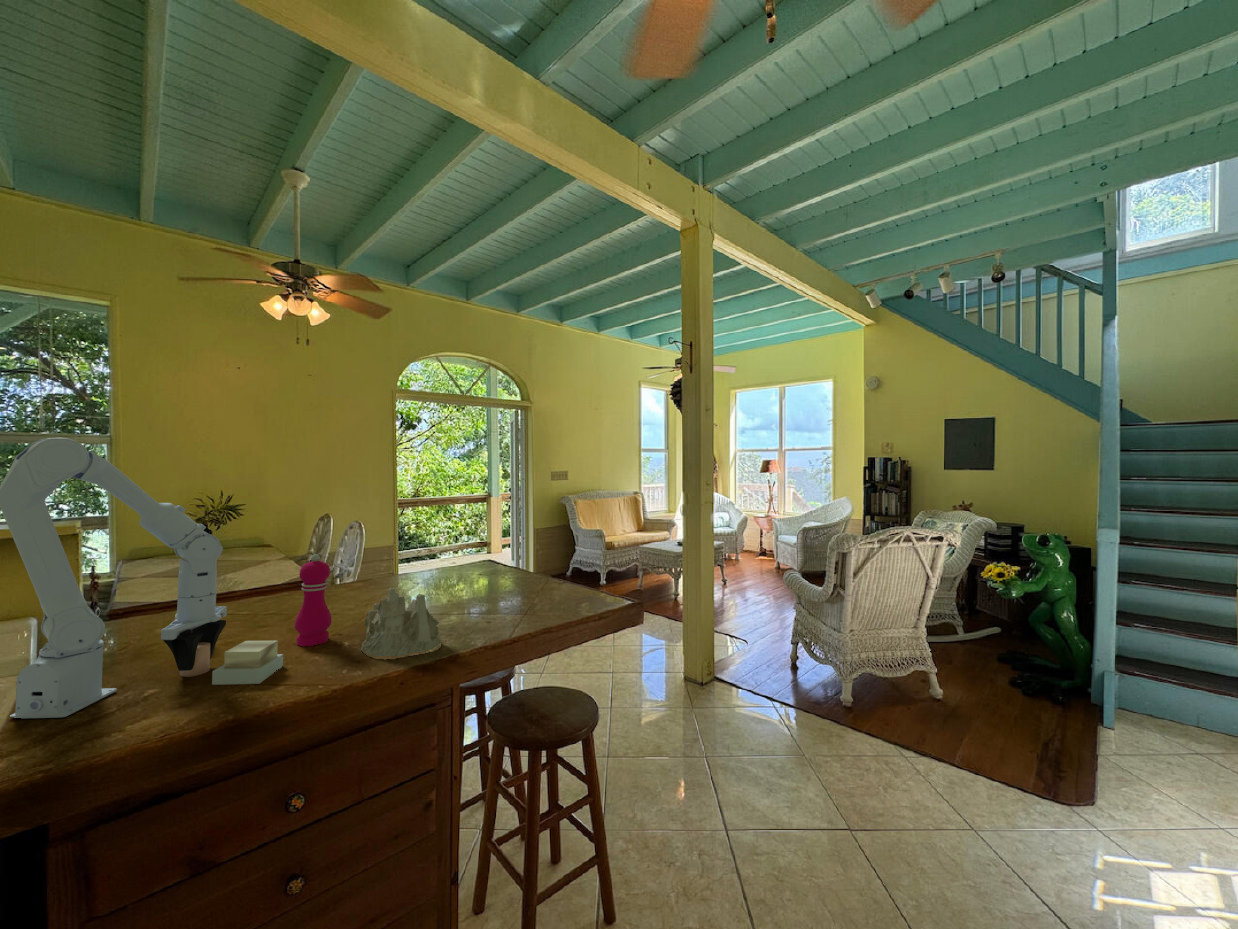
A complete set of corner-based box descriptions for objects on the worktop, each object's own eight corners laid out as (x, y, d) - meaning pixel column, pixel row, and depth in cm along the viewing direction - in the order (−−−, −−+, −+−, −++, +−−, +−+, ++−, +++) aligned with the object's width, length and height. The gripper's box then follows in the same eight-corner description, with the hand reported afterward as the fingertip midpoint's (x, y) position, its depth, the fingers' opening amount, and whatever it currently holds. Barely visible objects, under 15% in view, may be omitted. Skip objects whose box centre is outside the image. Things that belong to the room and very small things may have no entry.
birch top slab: (258, 667, 93) (259, 651, 93) (224, 668, 93) (224, 652, 93) (277, 655, 99) (277, 640, 99) (245, 656, 99) (245, 640, 99)
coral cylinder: (199, 676, 95) (199, 650, 95) (173, 677, 94) (174, 650, 94) (215, 667, 99) (215, 642, 99) (190, 667, 98) (191, 642, 98)
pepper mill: (288, 648, 110) (291, 557, 110) (300, 637, 117) (303, 551, 117) (325, 646, 111) (328, 556, 112) (334, 635, 118) (337, 551, 119)
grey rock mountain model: (445, 651, 110) (443, 583, 111) (361, 667, 102) (360, 593, 103) (434, 634, 124) (433, 573, 124) (360, 647, 116) (359, 581, 116)
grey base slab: (259, 686, 92) (259, 670, 92) (212, 687, 91) (212, 671, 91) (282, 669, 100) (283, 654, 100) (239, 670, 99) (240, 654, 99)
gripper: (192, 604, 90) (189, 680, 90) (243, 585, 104) (241, 650, 104) (149, 604, 89) (146, 681, 89) (206, 585, 103) (204, 650, 103)
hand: (195, 664), depth 96 cm, fingers closed on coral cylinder, 4 cm apart
